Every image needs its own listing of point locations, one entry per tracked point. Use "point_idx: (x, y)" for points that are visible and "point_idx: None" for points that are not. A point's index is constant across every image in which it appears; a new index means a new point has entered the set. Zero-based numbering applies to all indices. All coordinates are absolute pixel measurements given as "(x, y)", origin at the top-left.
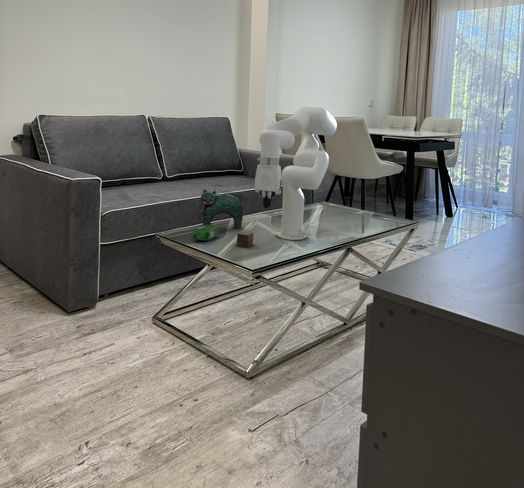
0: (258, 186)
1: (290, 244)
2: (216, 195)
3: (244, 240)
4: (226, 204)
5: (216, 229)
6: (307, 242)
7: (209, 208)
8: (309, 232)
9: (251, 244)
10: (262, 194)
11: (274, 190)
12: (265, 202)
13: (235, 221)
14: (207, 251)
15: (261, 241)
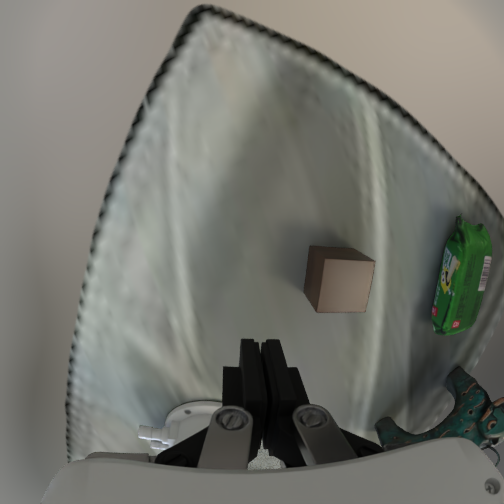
0: (445, 473)
1: (177, 360)
2: (481, 446)
3: (333, 252)
4: None
5: (445, 310)
6: (142, 397)
7: (479, 404)
8: (142, 432)
9: (306, 281)
10: (336, 431)
11: (104, 465)
12: (271, 370)
13: (396, 428)
14: (411, 136)
15: (285, 348)
